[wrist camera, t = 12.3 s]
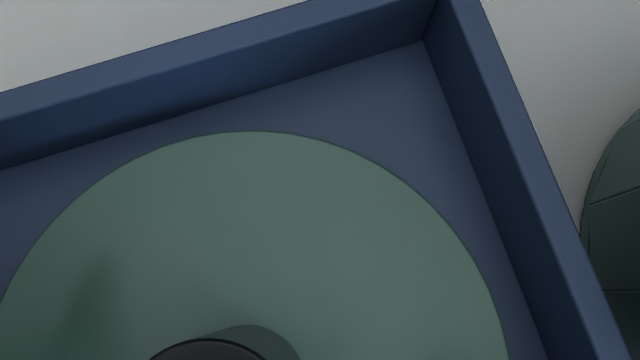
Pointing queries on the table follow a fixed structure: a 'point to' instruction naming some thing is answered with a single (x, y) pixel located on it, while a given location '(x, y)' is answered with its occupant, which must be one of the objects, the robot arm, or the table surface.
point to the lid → (250, 263)
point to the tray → (334, 140)
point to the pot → (617, 229)
